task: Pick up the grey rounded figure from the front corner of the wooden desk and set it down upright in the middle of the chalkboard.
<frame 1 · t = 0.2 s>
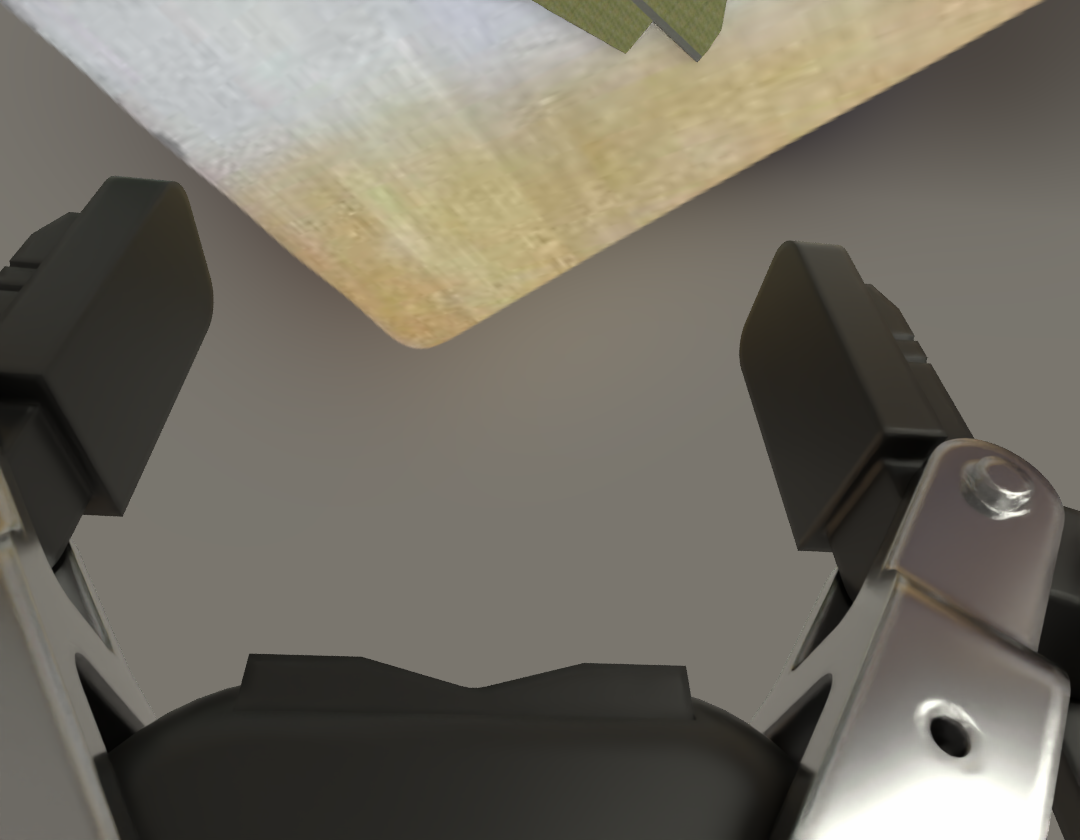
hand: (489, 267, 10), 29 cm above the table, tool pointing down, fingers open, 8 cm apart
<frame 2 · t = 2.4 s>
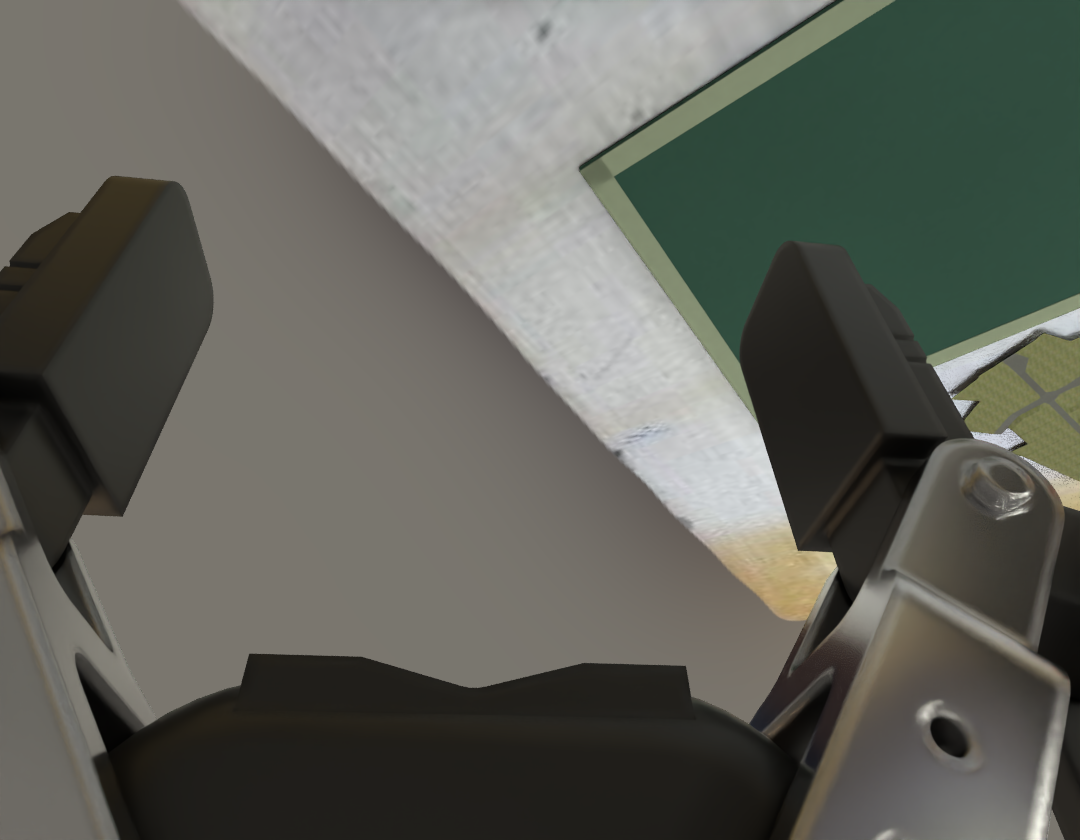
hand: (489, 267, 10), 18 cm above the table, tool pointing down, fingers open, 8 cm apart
chalkboard: (898, 217, 30), on the table
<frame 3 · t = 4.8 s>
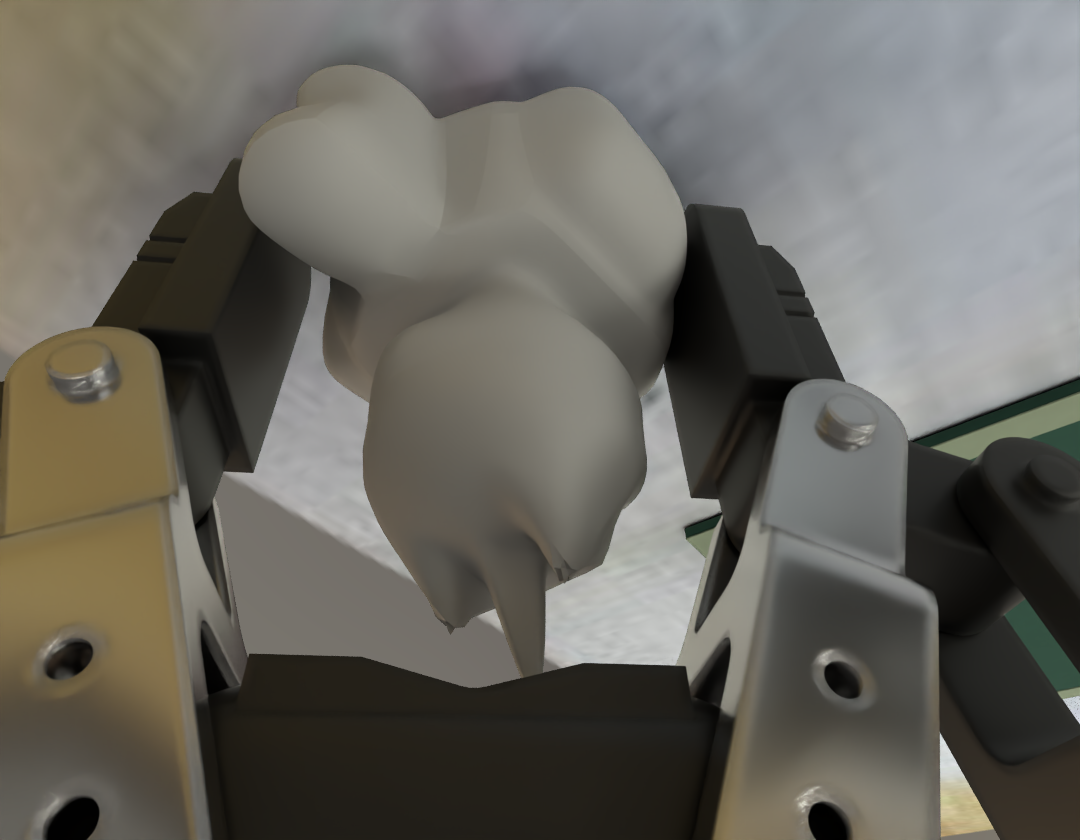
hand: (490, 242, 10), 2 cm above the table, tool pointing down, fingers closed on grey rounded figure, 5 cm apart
grey rounded figure: (488, 181, 11), on the table, touching gripper
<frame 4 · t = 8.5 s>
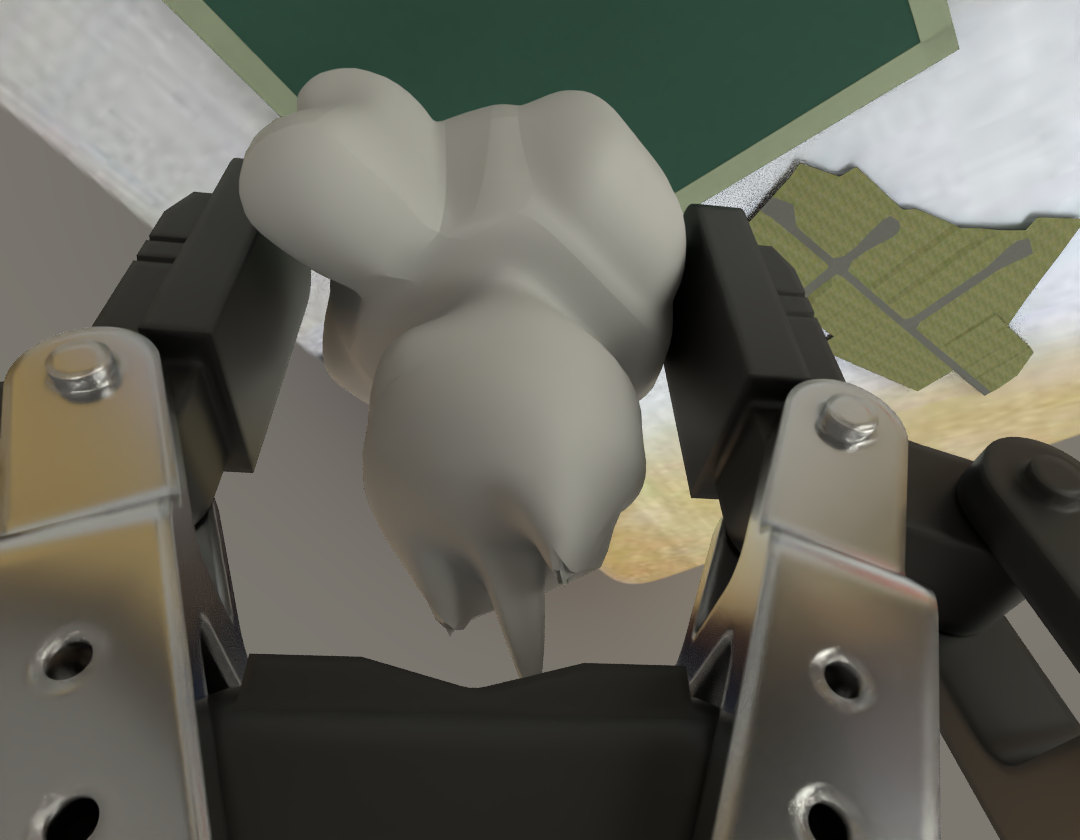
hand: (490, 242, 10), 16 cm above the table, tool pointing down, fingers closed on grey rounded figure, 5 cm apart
map: (920, 279, 31), on the table
grey rounded figure: (488, 183, 11), point 14 cm above the table, touching gripper
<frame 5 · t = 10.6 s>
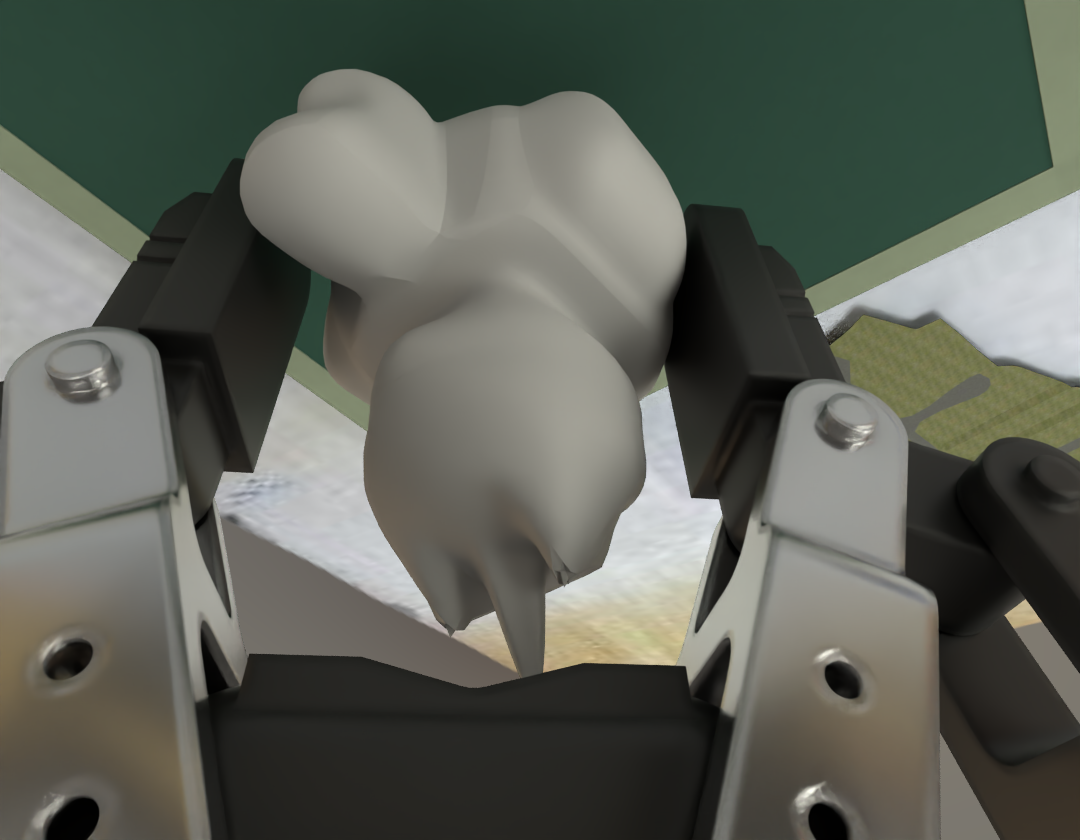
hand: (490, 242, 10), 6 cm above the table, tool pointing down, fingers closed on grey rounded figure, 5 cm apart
map: (1006, 438, 24), on the table
chalkboard: (496, 71, 14), on the table
grey rounded figure: (488, 184, 11), point 4 cm above the table, touching gripper
when the fingers open (2 cm above the table, at t = 12.2 s): grey rounded figure stays where it is, resting on chalkboard.
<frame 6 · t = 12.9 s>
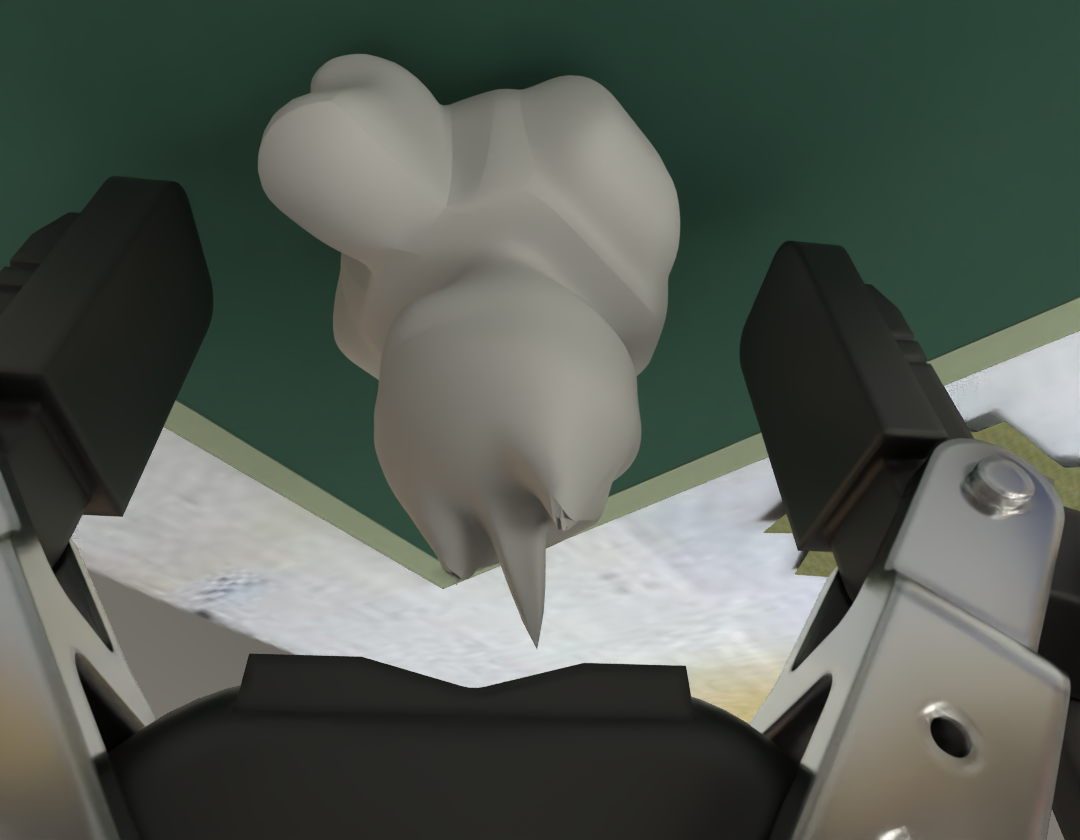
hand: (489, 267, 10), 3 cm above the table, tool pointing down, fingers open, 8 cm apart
map: (1065, 533, 21), on the table
chalkboard: (493, 164, 12), on the table
grey rounded figure: (490, 168, 12), resting on chalkboard
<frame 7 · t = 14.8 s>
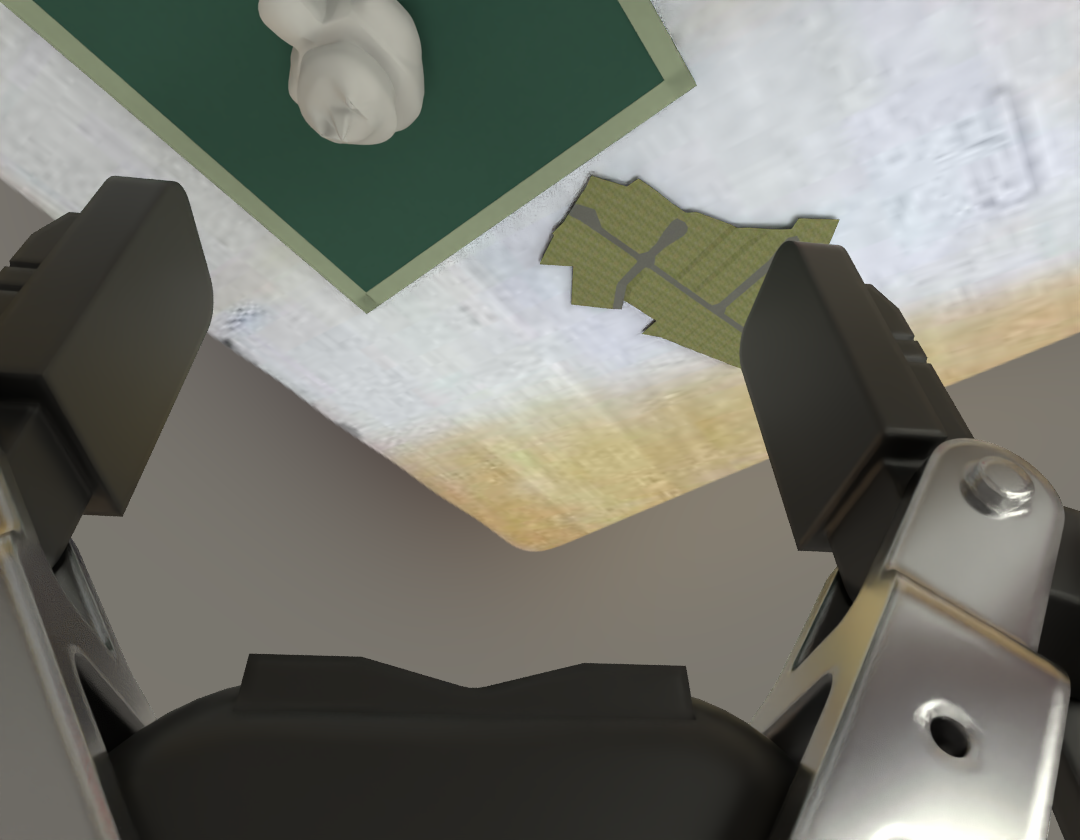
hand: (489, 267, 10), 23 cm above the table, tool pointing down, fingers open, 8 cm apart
map: (718, 271, 37), on the table
chalkboard: (358, 31, 28), on the table
grey rounded figure: (357, 32, 28), resting on chalkboard
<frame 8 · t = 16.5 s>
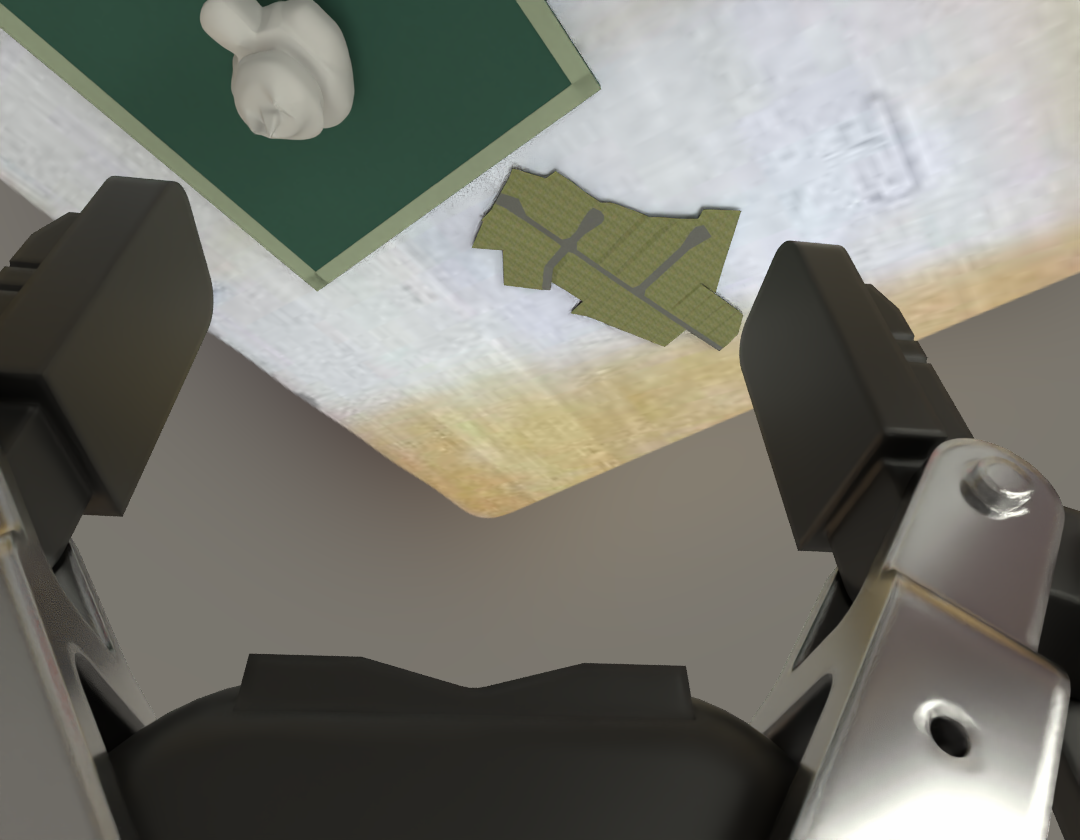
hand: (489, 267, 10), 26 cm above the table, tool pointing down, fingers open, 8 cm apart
map: (636, 256, 41), on the table
chalkboard: (296, 37, 32), on the table
grey rounded figure: (295, 38, 32), resting on chalkboard
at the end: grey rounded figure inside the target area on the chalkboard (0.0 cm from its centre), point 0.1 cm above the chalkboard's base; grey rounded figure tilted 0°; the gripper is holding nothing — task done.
